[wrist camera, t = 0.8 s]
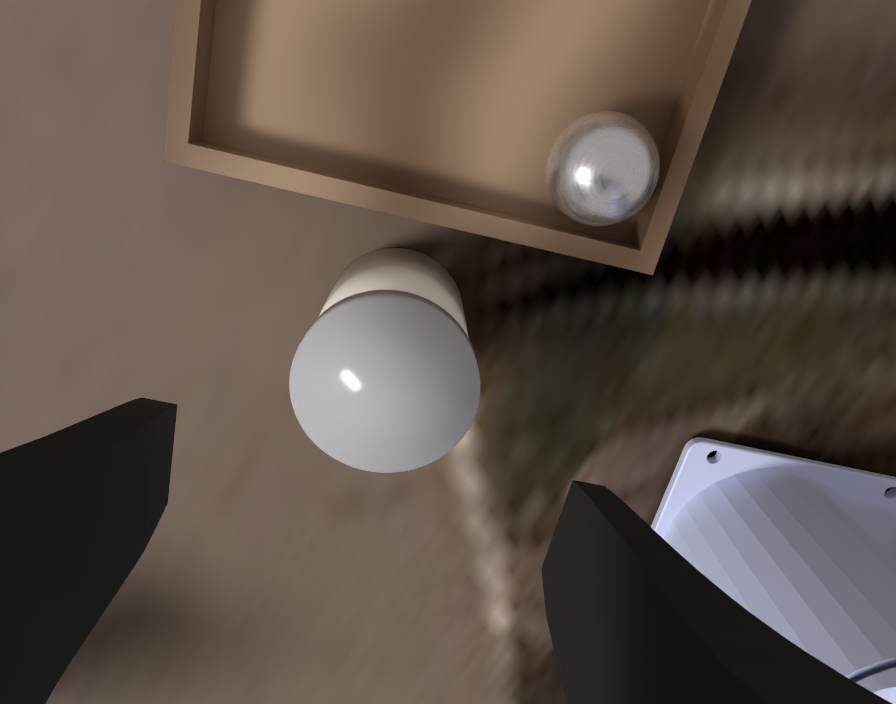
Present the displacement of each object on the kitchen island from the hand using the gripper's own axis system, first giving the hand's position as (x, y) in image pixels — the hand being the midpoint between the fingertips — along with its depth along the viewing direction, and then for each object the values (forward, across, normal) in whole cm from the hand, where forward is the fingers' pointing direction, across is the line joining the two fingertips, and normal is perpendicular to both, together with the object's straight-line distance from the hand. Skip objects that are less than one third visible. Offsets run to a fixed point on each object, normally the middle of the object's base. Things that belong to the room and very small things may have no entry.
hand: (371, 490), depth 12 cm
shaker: (+10, 0, 0) cm, 10 cm away
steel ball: (+8, -4, -6) cm, 11 cm away
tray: (+10, 0, -9) cm, 14 cm away
